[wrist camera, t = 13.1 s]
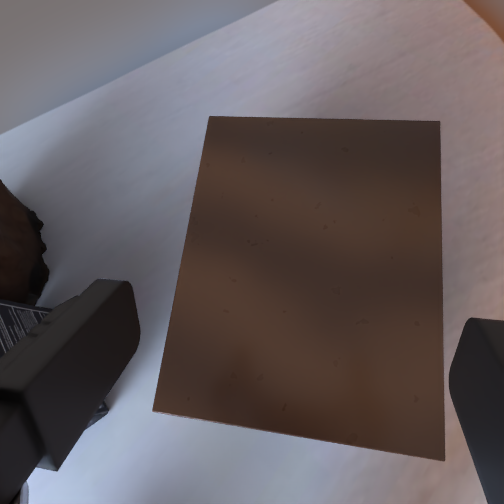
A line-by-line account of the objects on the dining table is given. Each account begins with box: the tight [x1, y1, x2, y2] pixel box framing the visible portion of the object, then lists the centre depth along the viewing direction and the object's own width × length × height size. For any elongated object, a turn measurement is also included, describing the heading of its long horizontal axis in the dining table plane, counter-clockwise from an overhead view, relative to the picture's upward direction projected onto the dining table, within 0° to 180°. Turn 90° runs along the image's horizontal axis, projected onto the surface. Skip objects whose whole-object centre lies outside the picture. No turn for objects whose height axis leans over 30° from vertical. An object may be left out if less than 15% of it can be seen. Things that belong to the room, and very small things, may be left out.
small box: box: [0, 299, 108, 429], centre depth 27 cm, size 11×6×10 cm, turn 34°
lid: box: [152, 116, 445, 461], centre depth 20 cm, size 18×14×1 cm
